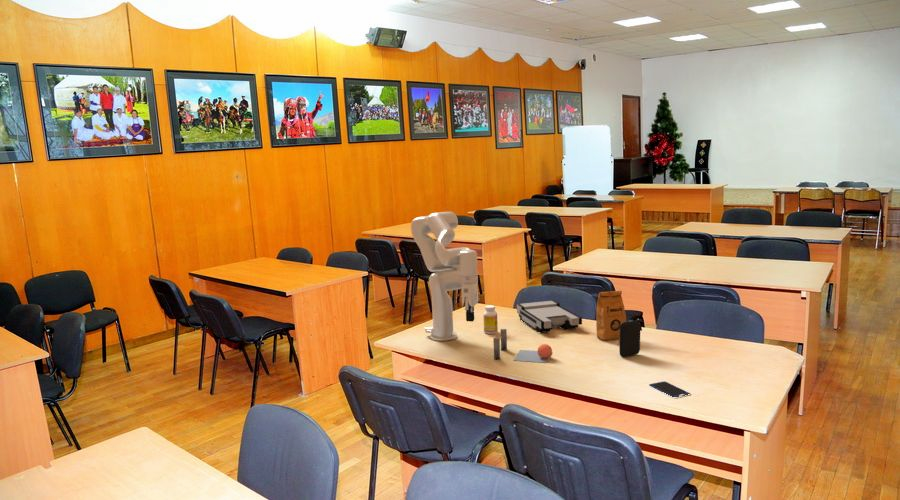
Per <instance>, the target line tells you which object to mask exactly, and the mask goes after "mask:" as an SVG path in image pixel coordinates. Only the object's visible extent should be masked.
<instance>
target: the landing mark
mask: <svg viewBox="0 0 900 500" xmlns="http://www.w3.org/2000/svg"><path fill="white" fill-rule="evenodd" d="M550 358H551V356H550V357H549V358H546V359H544V358H541V357H540V356H539V355H538V352H537V350H527V349H519V350H518V353H516V356H515V357H514V358H513V362H525V363H528V362H529V363H540V364H541V363H542V364H549V363H548V362H549V361H550Z"/></svg>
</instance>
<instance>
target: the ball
mask: <svg viewBox="0 0 900 500" xmlns="http://www.w3.org/2000/svg"><path fill="white" fill-rule="evenodd" d="M536 351H537V352H538V355H539V356H540V357H541V358H544V359H546V358H549V357H550V358H551V356H552V354H553V349H552V347H551V346H550V345H549V344H547V343H542V344H540V345H539V346H538V347H537V350H536Z"/></svg>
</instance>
